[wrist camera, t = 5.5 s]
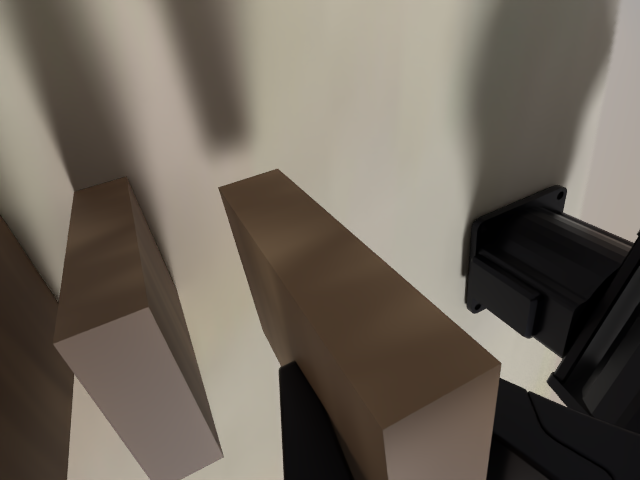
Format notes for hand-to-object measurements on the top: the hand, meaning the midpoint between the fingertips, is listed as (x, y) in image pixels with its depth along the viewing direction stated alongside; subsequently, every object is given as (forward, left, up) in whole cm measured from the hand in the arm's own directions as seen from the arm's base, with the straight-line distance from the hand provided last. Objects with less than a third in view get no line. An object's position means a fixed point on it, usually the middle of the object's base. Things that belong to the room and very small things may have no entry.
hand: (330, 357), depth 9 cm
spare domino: (0, -1, -4) cm, 4 cm away
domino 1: (+4, 0, -8) cm, 9 cm away
